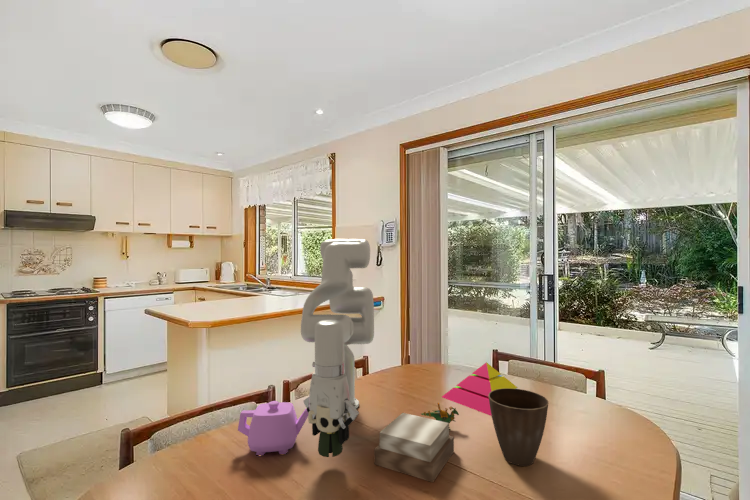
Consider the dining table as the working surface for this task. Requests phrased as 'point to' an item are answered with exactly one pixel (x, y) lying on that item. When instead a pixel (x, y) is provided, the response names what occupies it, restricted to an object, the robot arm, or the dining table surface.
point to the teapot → (272, 427)
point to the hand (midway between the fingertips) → (330, 437)
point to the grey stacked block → (415, 446)
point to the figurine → (442, 414)
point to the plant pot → (518, 423)
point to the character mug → (327, 432)
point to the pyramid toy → (478, 388)
